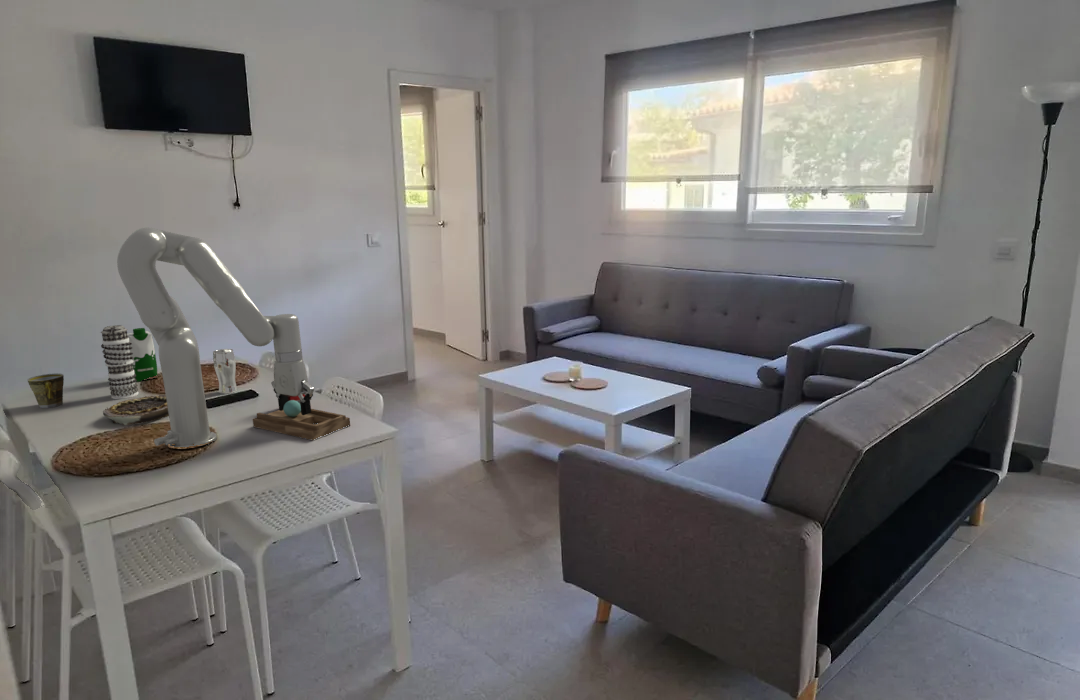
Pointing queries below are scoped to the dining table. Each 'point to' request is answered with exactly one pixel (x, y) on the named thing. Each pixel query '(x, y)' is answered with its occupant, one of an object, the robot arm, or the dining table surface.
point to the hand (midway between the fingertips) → (295, 411)
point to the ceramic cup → (48, 389)
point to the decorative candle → (119, 362)
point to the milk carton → (143, 354)
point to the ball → (292, 408)
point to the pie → (138, 410)
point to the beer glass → (225, 370)
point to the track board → (302, 423)
